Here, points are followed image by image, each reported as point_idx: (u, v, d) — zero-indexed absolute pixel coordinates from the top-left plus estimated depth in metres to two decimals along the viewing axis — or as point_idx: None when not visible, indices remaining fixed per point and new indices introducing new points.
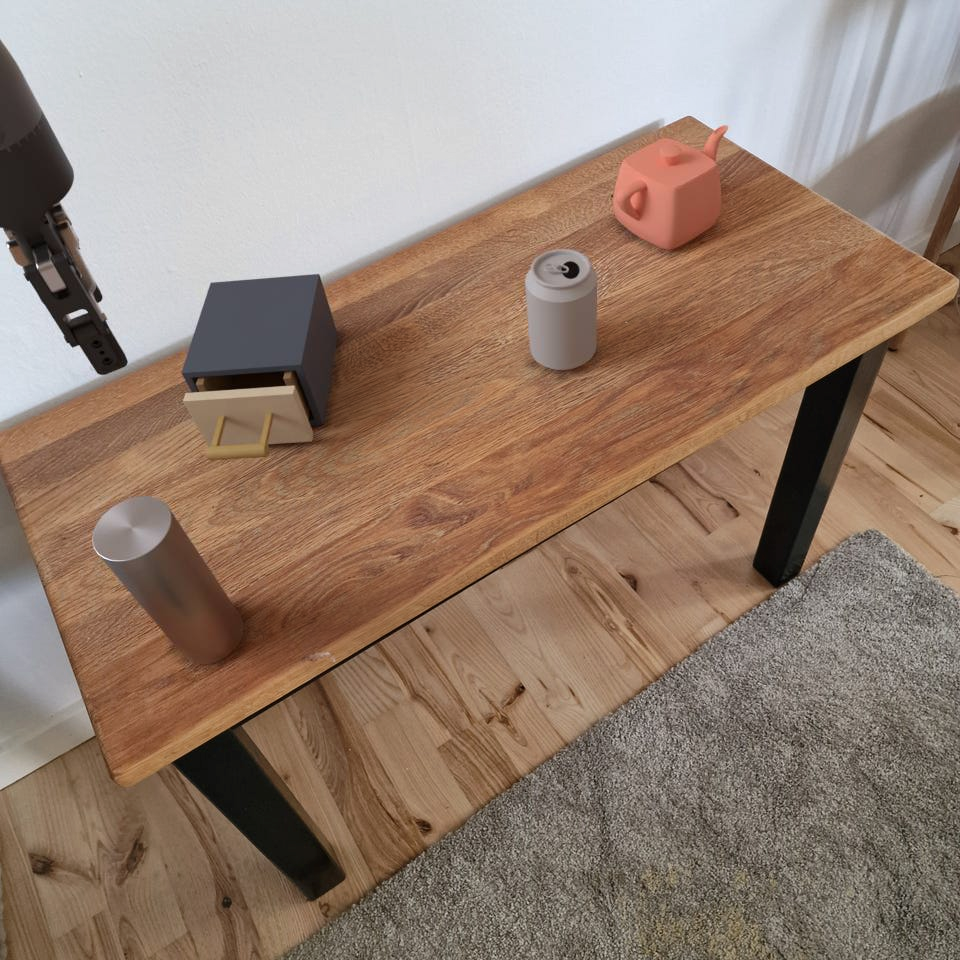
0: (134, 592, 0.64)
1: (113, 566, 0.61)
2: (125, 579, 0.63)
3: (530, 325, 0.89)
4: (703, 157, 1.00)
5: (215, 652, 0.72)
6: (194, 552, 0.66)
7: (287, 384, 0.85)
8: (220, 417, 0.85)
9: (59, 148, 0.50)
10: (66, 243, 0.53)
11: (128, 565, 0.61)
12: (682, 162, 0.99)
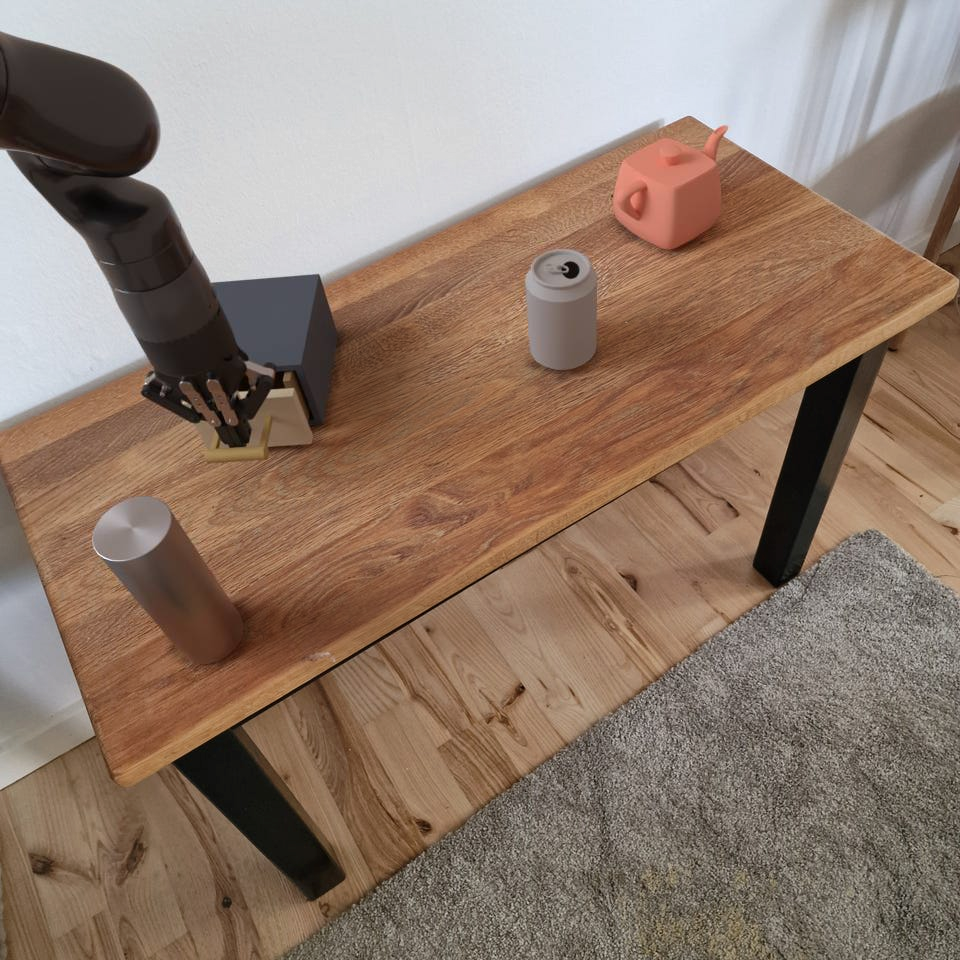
0: (134, 592, 0.64)
1: (113, 566, 0.61)
2: (125, 579, 0.63)
3: (530, 325, 0.89)
4: (703, 157, 1.00)
5: (215, 652, 0.72)
6: (194, 552, 0.66)
7: (286, 387, 0.84)
8: None
9: None
10: None
11: (128, 565, 0.61)
12: (682, 162, 0.99)
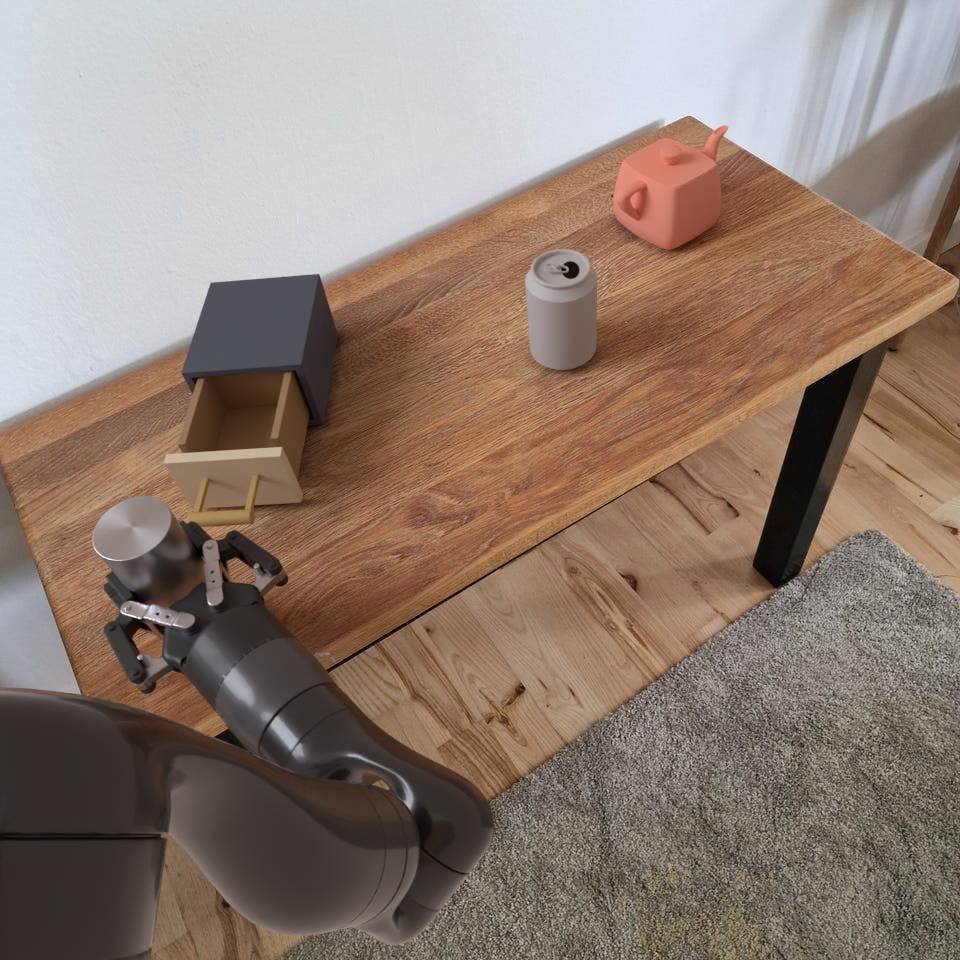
0: (134, 592, 0.64)
1: (113, 566, 0.61)
2: (125, 579, 0.63)
3: (530, 325, 0.89)
4: (703, 157, 1.00)
5: None
6: (194, 552, 0.66)
7: (274, 444, 0.80)
8: (203, 479, 0.79)
9: None
10: None
11: (128, 565, 0.61)
12: (682, 162, 0.99)
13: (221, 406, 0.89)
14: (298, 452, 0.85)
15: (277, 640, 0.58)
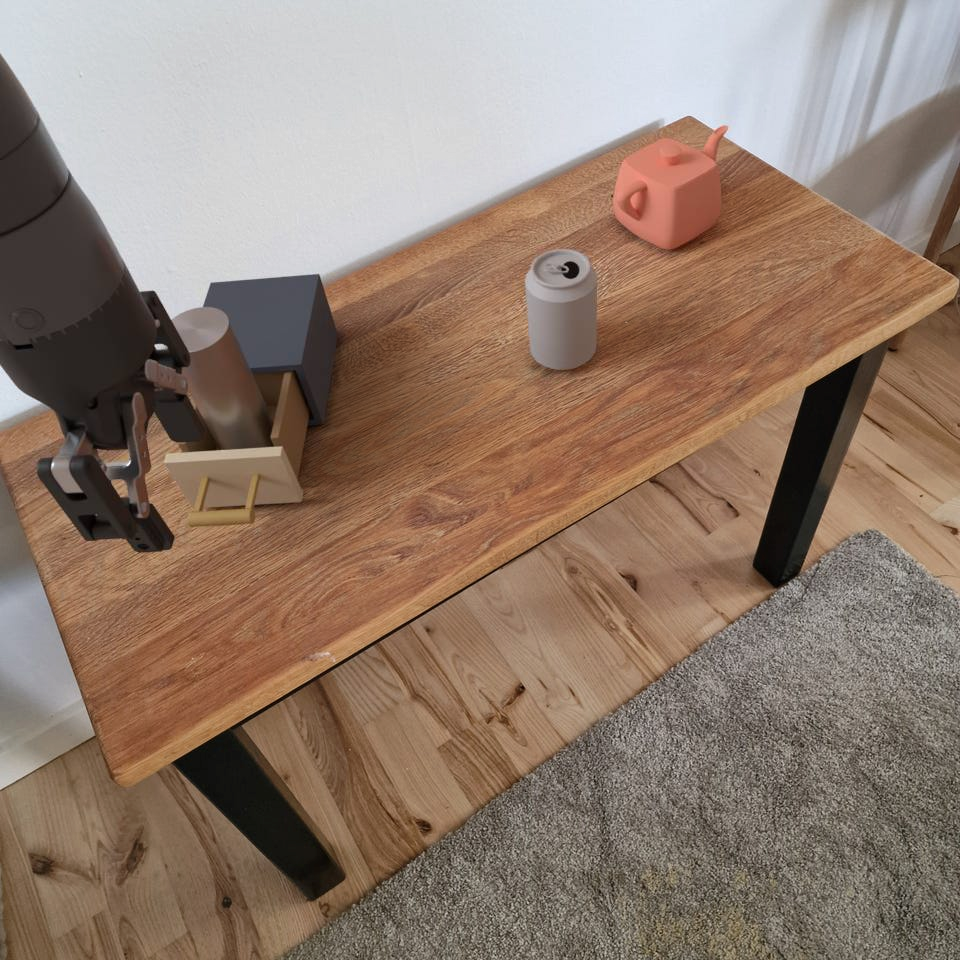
0: (195, 390, 0.75)
1: None
2: (189, 374, 0.73)
3: (530, 325, 0.89)
4: (703, 157, 1.00)
5: None
6: (245, 360, 0.77)
7: (274, 443, 0.80)
8: (203, 479, 0.80)
9: (133, 327, 0.40)
10: (124, 421, 0.44)
11: (193, 357, 0.71)
12: (682, 162, 0.99)
13: None
14: (298, 452, 0.85)
15: None
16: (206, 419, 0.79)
